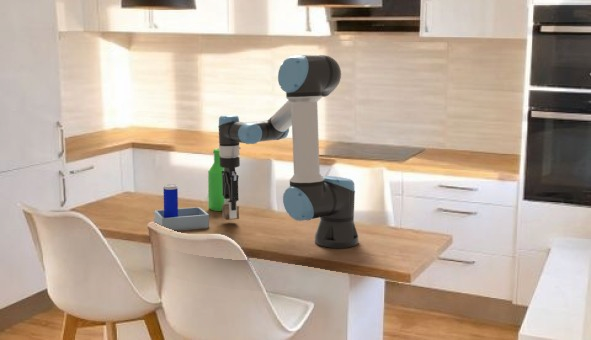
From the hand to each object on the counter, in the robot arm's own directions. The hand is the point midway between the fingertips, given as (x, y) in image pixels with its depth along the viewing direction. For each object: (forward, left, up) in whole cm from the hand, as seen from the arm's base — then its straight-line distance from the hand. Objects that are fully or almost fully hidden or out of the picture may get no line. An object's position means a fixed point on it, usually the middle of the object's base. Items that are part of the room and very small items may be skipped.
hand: (230, 216), depth 284 cm
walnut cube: (0, 0, 0) cm, 0 cm away
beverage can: (+4, +22, -2) cm, 23 cm away
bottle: (+25, -3, -3) cm, 25 cm away
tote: (+4, +18, -3) cm, 19 cm away
